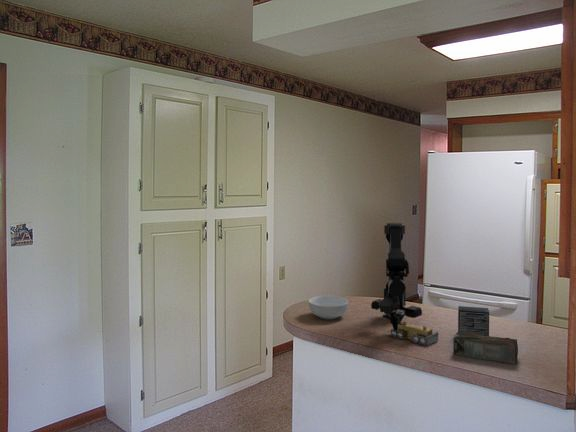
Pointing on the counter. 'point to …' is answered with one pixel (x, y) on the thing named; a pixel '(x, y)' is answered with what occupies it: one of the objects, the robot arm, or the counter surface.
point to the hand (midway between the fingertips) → (395, 330)
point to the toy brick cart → (417, 337)
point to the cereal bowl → (328, 306)
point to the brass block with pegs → (413, 330)
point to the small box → (473, 320)
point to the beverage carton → (485, 347)
